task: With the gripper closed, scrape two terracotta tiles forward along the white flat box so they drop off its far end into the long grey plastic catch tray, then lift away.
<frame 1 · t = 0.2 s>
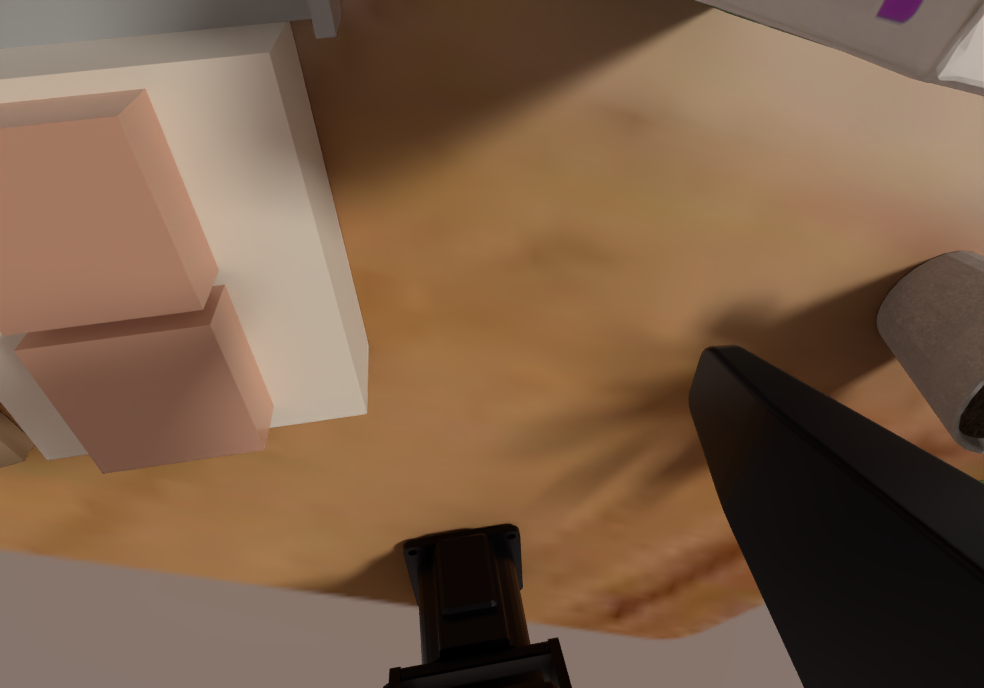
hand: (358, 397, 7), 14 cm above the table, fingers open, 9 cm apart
house plant: (915, 285, 27), on the table
tile 1: (86, 199, 16), point 4 cm above the table, touching white flat box
tile 2: (170, 361, 19), point 4 cm above the table, touching white flat box
white flat box: (173, 230, 21), on the table
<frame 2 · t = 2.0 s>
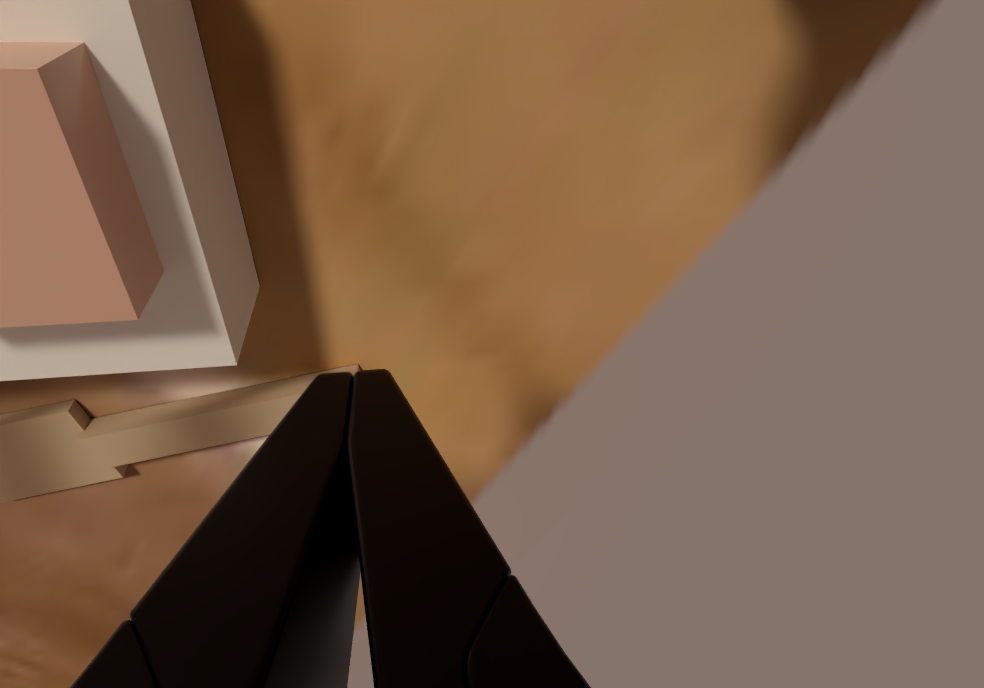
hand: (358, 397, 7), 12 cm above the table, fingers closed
wooden spatula: (178, 418, 22), on the table
tile 2: (0, 173, 13), point 4 cm above the table, touching white flat box
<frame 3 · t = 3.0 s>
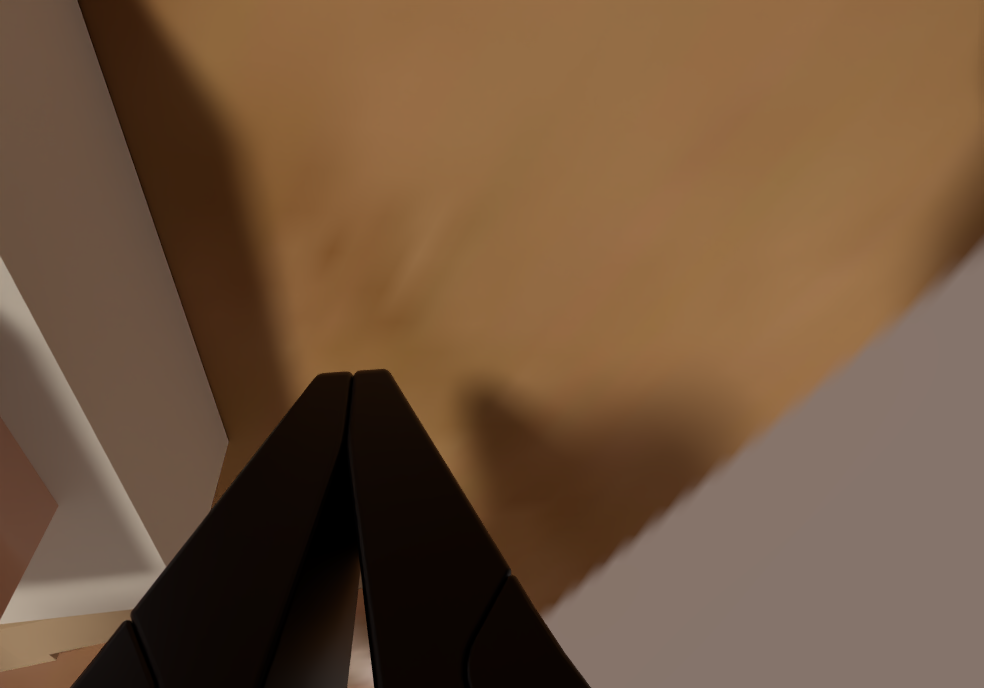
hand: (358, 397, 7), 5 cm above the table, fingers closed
wooden spatula: (126, 589, 17), on the table
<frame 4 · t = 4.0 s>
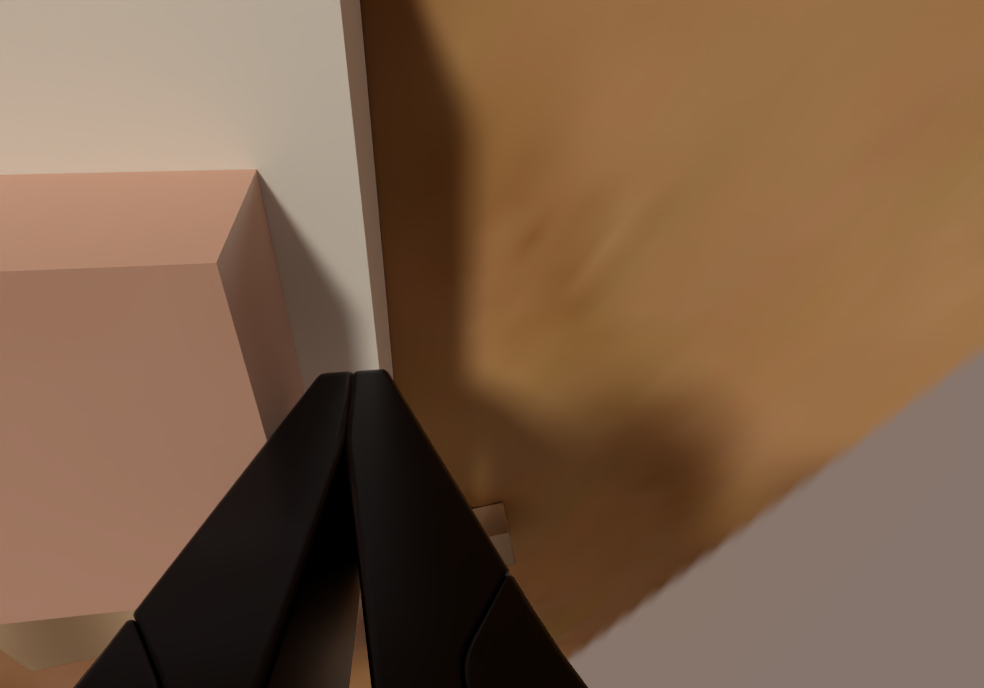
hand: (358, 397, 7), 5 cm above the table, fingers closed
wooden spatula: (270, 567, 18), on the table
tile 2: (94, 362, 8), point 4 cm above the table, touching gripper, white flat box
white flat box: (30, 225, 11), on the table
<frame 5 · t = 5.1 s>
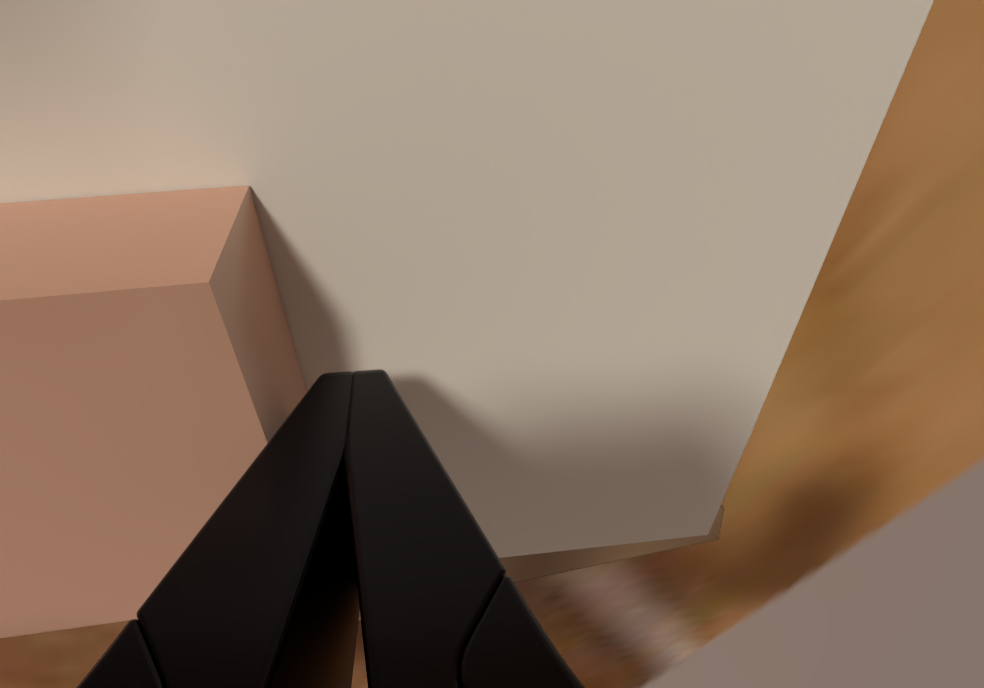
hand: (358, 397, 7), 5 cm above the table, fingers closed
wooden spatula: (484, 543, 18), on the table
tile 2: (104, 378, 8), point 4 cm above the table, touching gripper, white flat box
white flat box: (393, 213, 11), on the table
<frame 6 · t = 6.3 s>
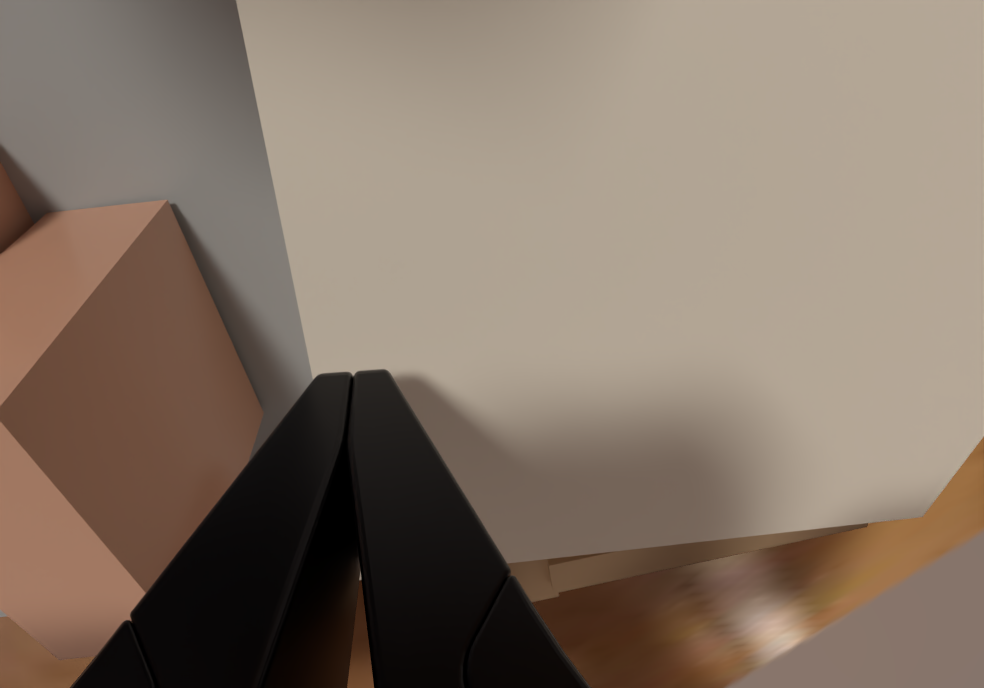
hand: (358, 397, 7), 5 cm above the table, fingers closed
wooden spatula: (637, 531, 19), on the table
tile 2: (178, 413, 10), point 3 cm above the table, tilted 94°, touching catch tray
white flat box: (639, 208, 12), on the table
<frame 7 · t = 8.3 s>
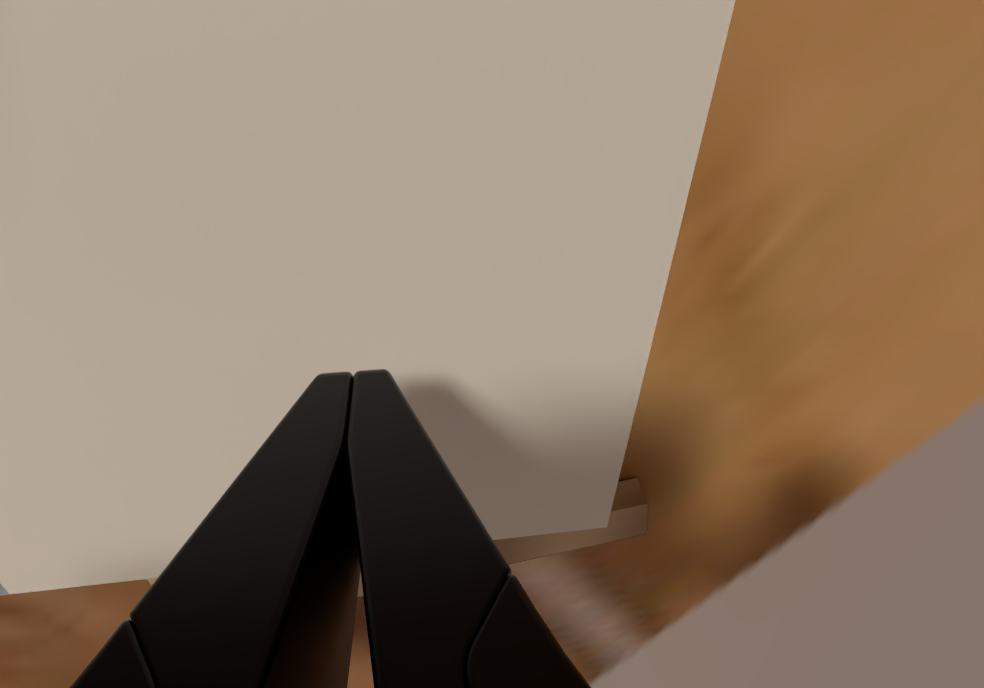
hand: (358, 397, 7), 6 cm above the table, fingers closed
wooden spatula: (423, 539, 19), on the table
white flat box: (303, 228, 12), on the table
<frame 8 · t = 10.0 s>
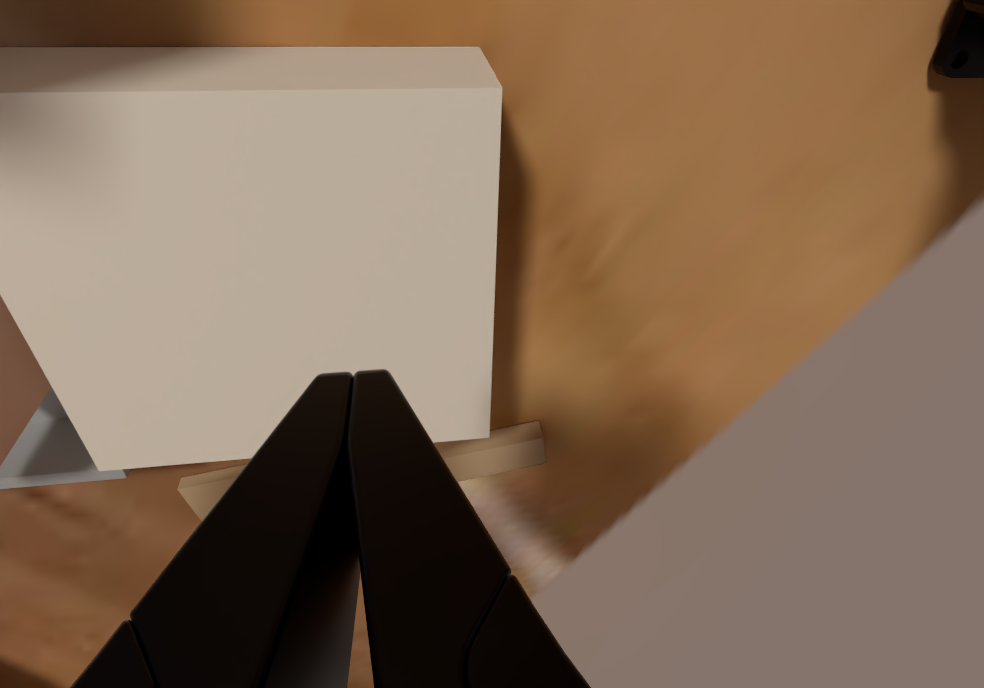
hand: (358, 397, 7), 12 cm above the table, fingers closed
wooden spatula: (380, 466, 26), on the table
white flat box: (286, 238, 19), on the table
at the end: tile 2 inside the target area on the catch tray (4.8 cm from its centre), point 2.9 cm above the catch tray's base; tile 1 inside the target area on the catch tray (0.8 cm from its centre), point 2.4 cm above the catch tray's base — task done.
